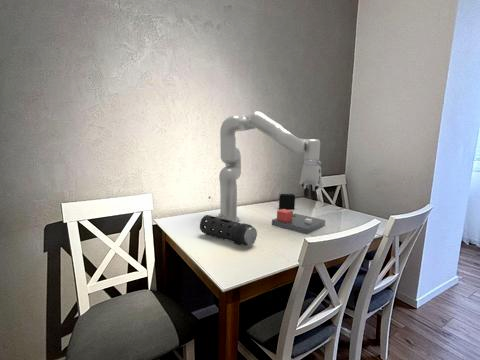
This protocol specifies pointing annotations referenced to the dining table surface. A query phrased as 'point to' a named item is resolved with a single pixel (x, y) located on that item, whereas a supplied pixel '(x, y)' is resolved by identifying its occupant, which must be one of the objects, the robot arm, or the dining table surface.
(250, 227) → the muzzle brake
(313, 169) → the robot arm
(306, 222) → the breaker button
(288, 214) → the red block
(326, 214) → the dining table surface
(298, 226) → the board
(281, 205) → the electronic device
